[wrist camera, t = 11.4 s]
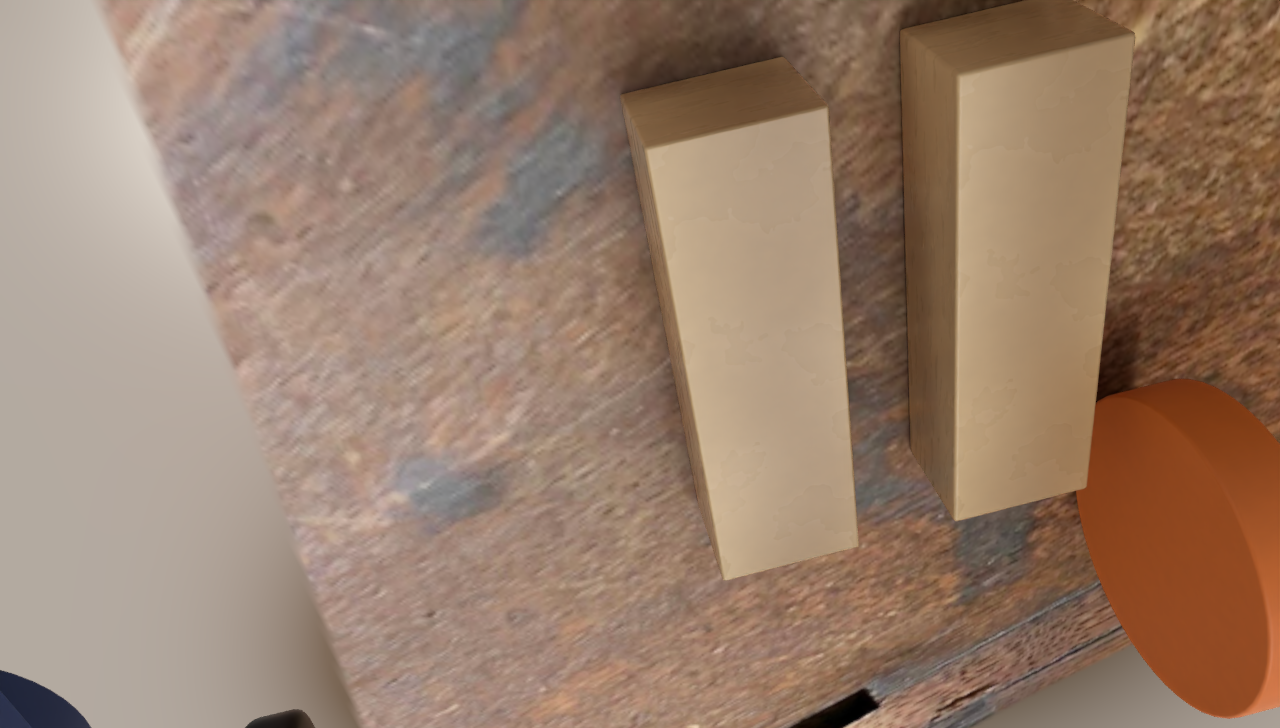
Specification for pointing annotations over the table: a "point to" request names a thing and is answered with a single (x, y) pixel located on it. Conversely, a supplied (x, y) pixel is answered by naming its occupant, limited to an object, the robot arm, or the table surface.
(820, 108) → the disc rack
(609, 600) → the table surface
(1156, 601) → the disc
